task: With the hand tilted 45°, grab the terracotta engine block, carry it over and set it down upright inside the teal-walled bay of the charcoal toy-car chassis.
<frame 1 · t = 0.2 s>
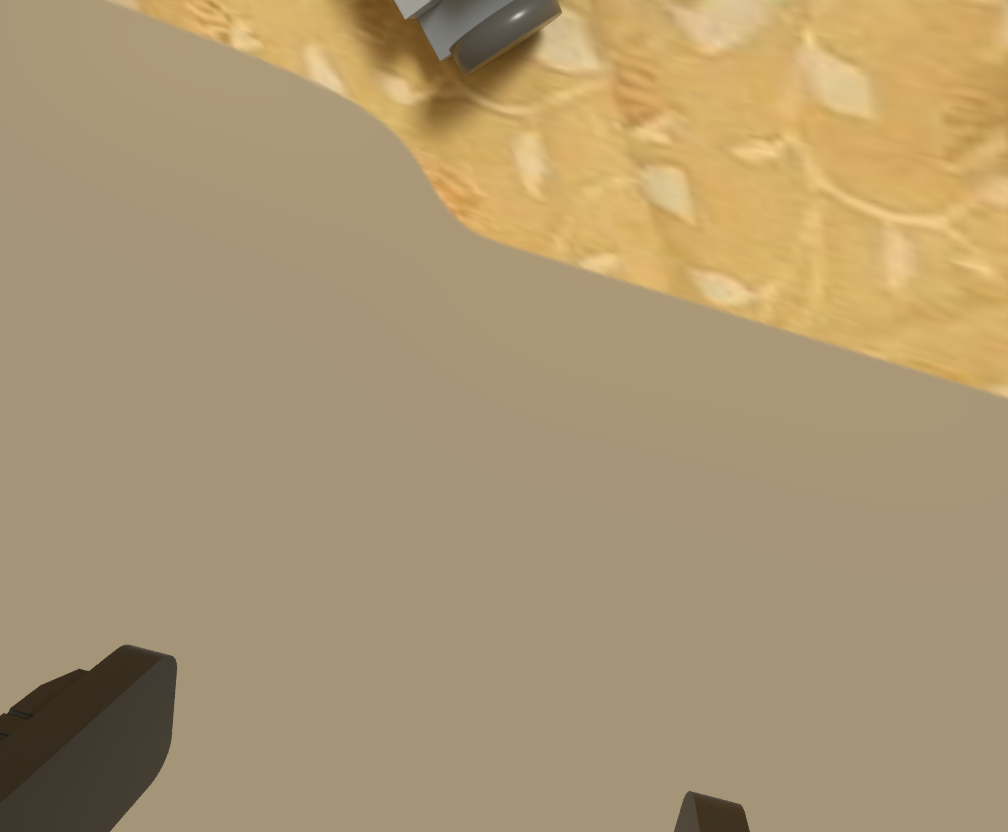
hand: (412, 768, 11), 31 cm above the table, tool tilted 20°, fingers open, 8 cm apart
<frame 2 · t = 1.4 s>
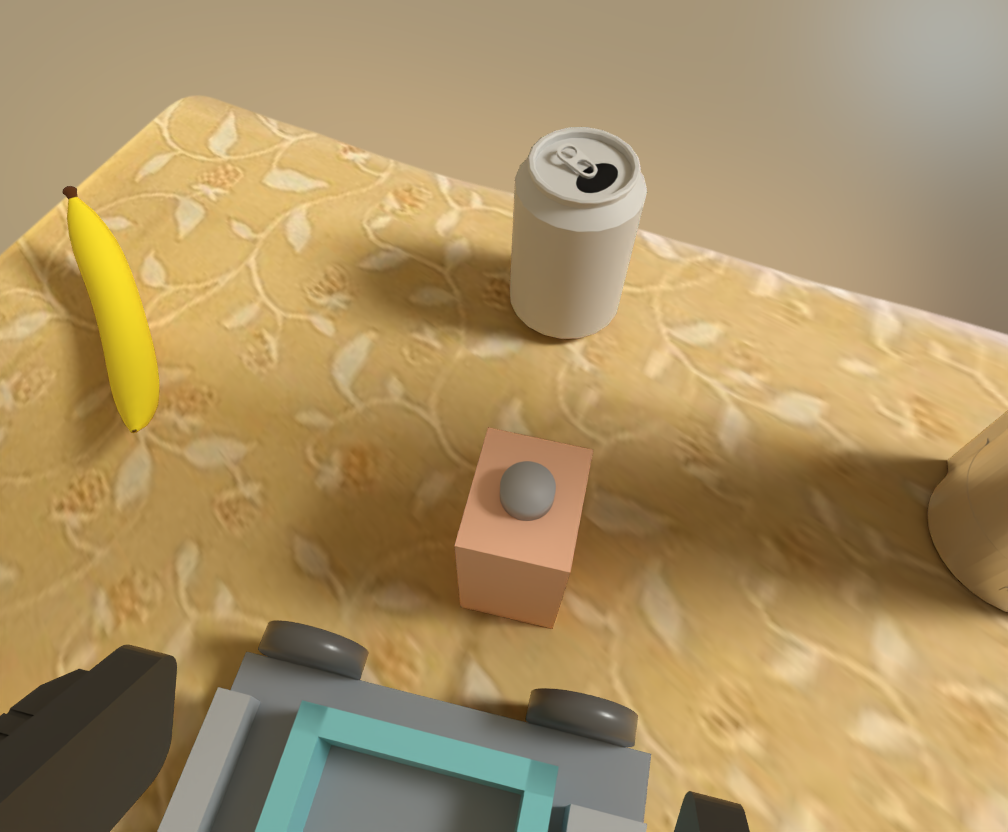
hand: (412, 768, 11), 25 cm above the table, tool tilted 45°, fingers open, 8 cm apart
can: (563, 305, 49), on the table
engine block: (518, 564, 39), on the table
banana: (139, 356, 46), on the table
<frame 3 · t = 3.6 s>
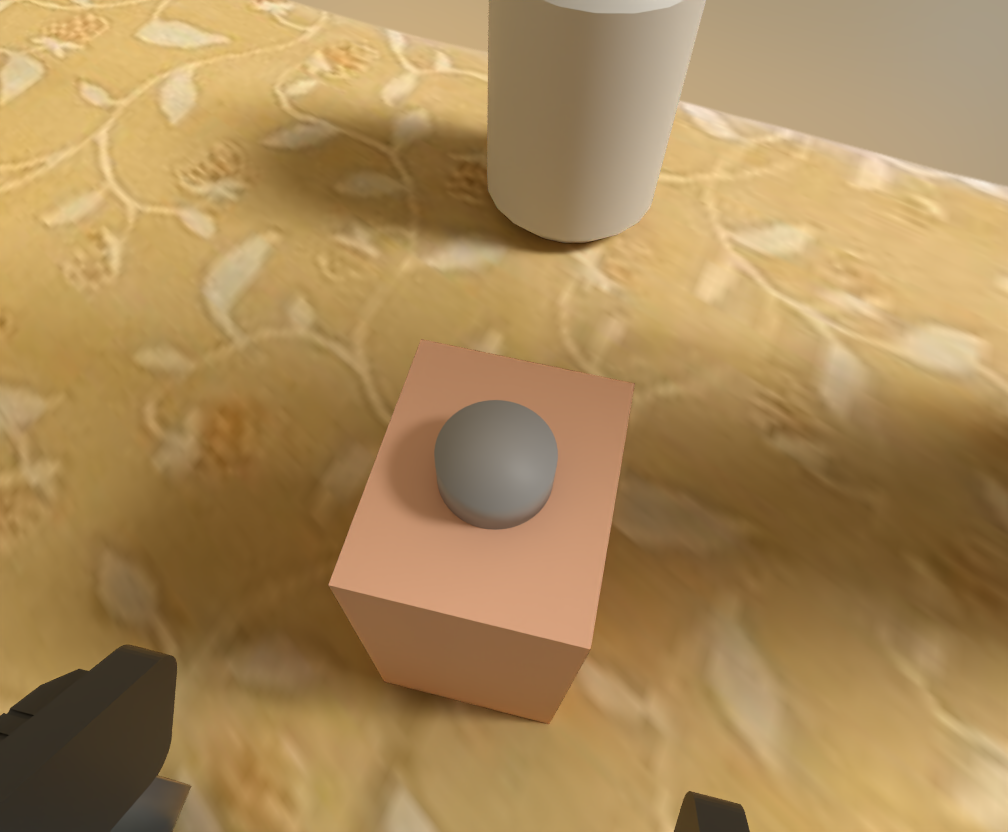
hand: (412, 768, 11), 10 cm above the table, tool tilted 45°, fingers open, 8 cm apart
can: (568, 199, 32), on the table
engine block: (490, 604, 22), on the table
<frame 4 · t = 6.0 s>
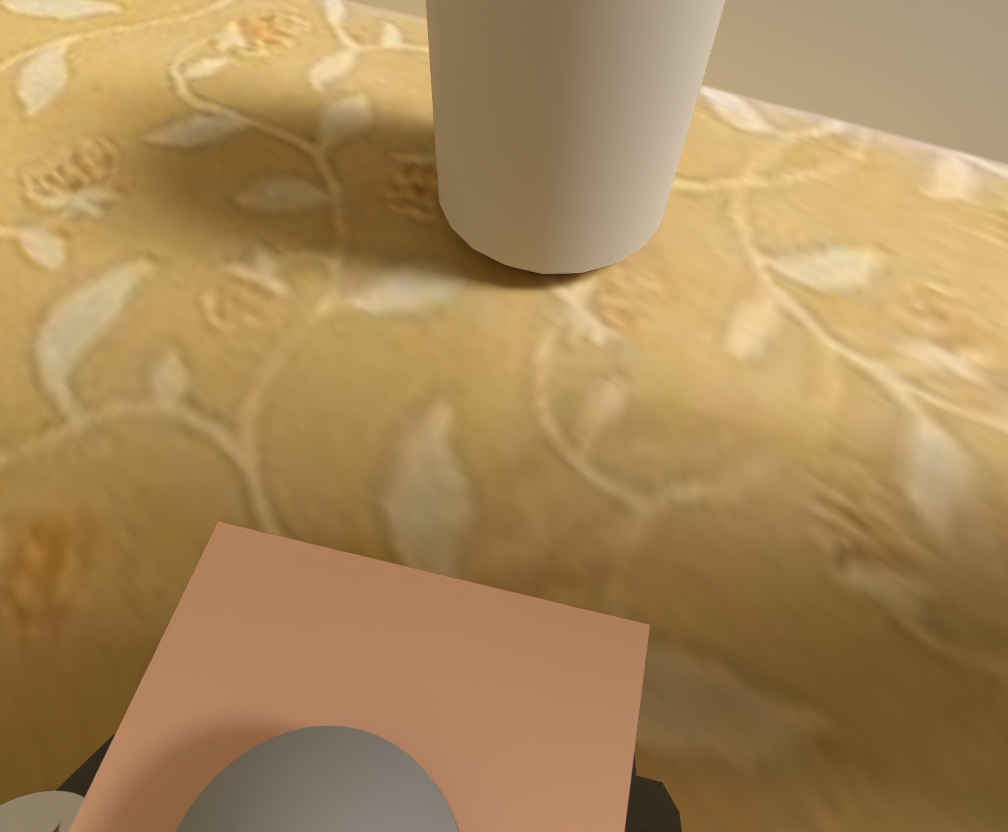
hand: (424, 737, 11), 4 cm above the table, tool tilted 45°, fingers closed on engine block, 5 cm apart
can: (549, 214, 24), on the table
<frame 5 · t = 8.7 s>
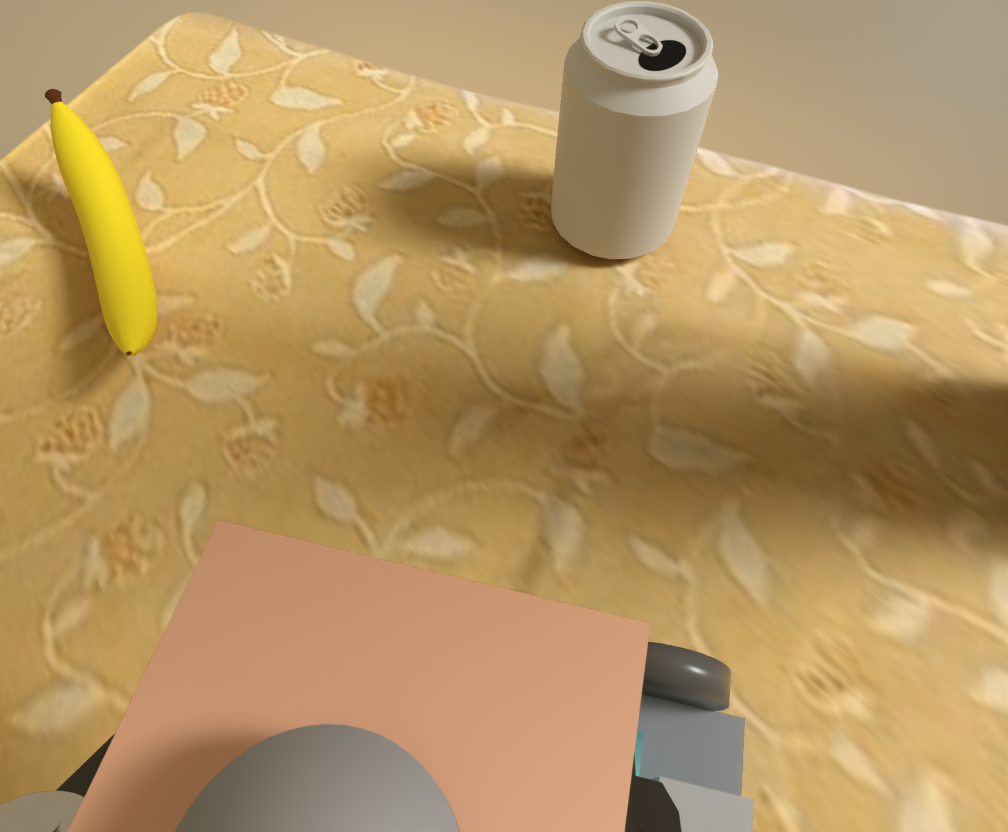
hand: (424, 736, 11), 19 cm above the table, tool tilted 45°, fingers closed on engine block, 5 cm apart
can: (610, 226, 43), on the table
banana: (135, 284, 40), on the table
when the fingers open (7 cm above the table, at t = 11.4 s): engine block drops 1 cm, resting on chassis.
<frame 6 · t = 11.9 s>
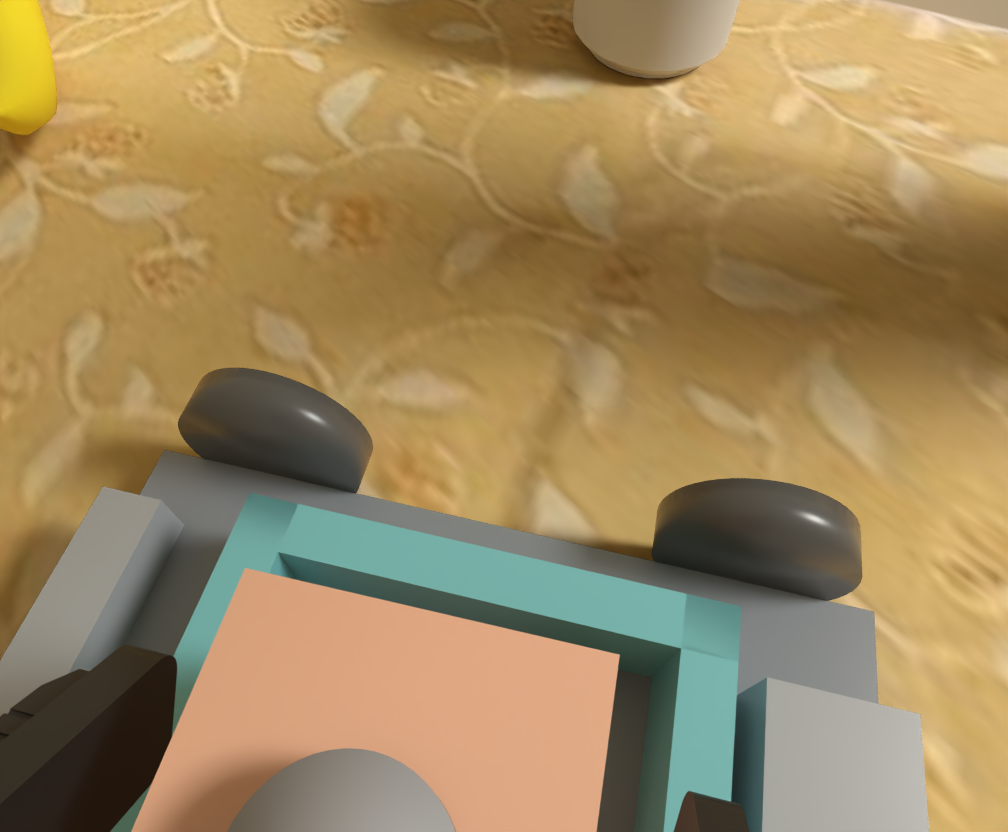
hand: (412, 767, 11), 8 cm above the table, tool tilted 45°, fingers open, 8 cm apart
can: (645, 46, 35), on the table
banana: (38, 93, 31), on the table
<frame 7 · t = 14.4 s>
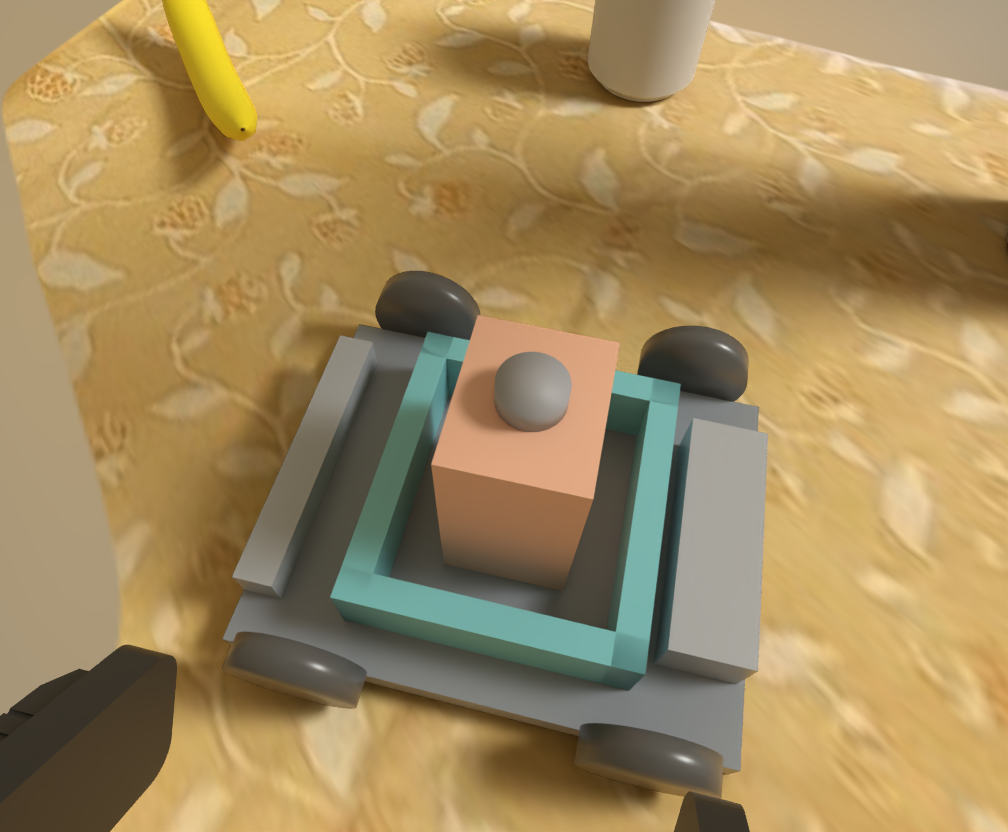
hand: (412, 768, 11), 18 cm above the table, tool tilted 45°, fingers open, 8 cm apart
chassis: (516, 524, 32), on the table
can: (638, 78, 50), on the table
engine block: (517, 511, 30), point 1 cm above the table, touching chassis
banana: (226, 111, 46), on the table
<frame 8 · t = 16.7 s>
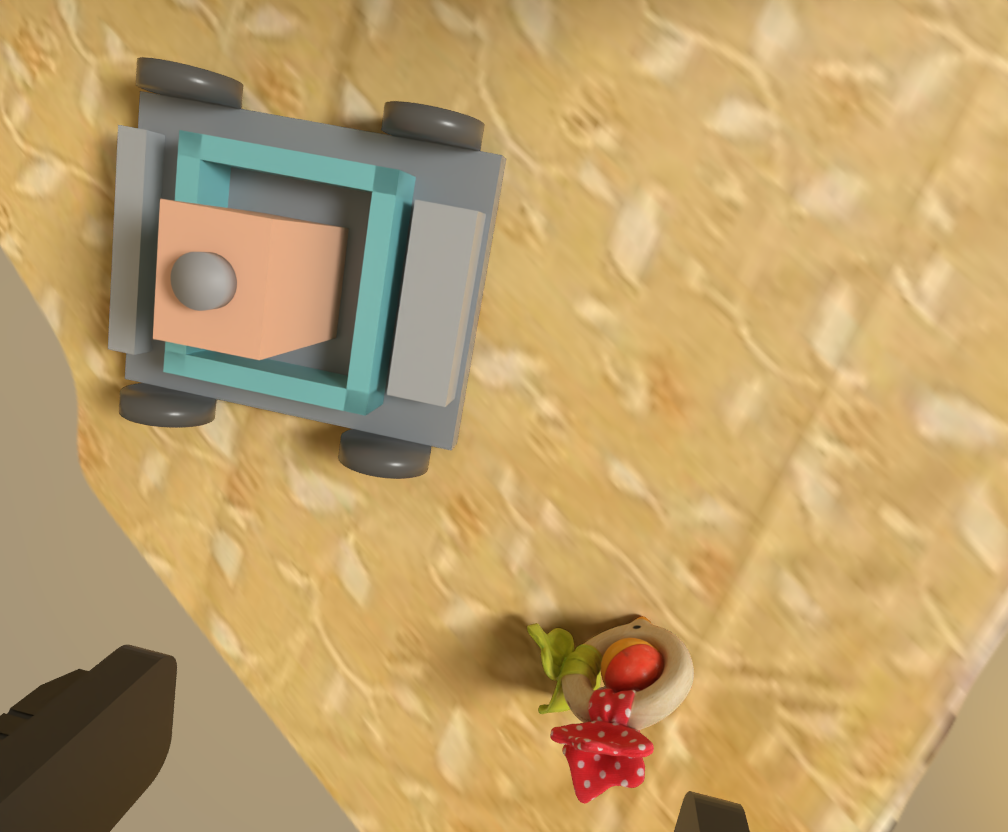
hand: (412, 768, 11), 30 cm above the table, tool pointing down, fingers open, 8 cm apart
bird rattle: (605, 635, 43), on the table
chassis: (310, 274, 40), on the table
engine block: (299, 275, 39), point 1 cm above the table, touching chassis
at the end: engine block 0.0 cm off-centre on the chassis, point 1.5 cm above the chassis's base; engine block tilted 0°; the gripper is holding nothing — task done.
